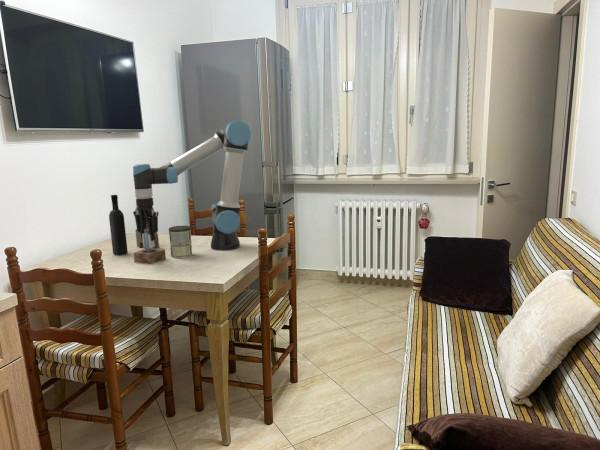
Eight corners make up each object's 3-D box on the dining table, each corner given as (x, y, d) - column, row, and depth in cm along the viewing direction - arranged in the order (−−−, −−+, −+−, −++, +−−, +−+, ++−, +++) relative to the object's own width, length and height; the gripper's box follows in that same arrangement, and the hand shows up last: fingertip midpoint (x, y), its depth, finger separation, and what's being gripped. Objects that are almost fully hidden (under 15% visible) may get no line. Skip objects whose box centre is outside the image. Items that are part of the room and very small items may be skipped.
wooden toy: (160, 248, 229) (155, 201, 224) (147, 250, 225) (143, 202, 220) (147, 243, 240) (143, 199, 235) (135, 245, 236) (130, 200, 231)
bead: (165, 258, 208) (164, 249, 207) (151, 263, 199) (150, 254, 198) (149, 256, 212) (148, 247, 211) (134, 262, 203) (133, 252, 202)
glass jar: (167, 255, 212) (164, 227, 210) (185, 251, 220) (183, 224, 217) (177, 259, 205) (175, 230, 203) (196, 255, 212) (194, 227, 210)
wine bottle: (122, 251, 223) (116, 194, 217) (128, 253, 219) (122, 194, 214) (112, 254, 219) (105, 195, 213) (118, 255, 215) (111, 196, 210)
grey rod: (154, 257, 206) (152, 228, 203) (150, 259, 203) (147, 230, 200) (149, 257, 207) (147, 228, 204) (145, 258, 204) (142, 229, 202)
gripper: (163, 197, 200) (167, 246, 204) (137, 196, 206) (141, 244, 210) (152, 199, 193) (156, 250, 197) (125, 198, 199) (130, 247, 204)
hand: (149, 246), depth 204 cm, fingers closed on grey rod, 3 cm apart
